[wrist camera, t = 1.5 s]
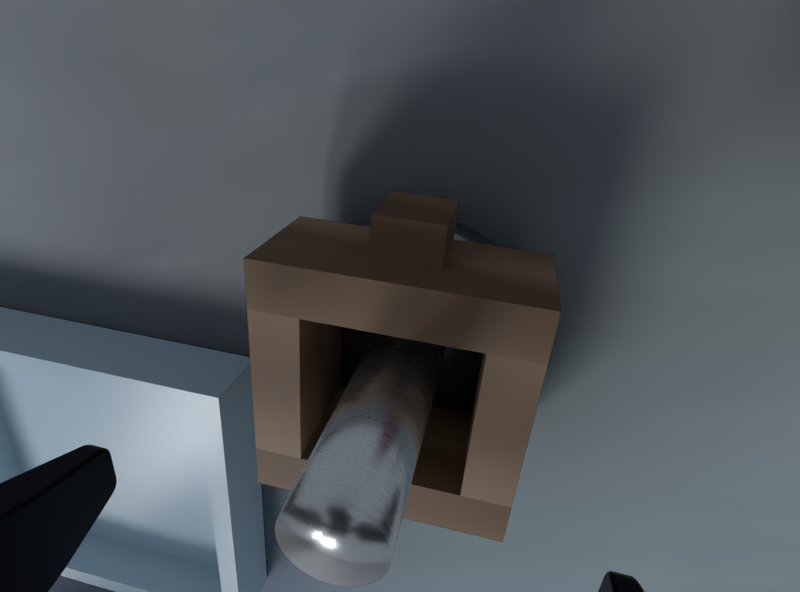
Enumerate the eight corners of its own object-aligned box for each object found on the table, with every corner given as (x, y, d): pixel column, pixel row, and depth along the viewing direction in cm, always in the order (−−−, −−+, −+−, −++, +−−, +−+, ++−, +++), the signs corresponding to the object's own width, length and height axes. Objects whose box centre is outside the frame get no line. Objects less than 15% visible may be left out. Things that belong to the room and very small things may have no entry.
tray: (266, 578, 22) (242, 628, 20) (39, 515, 24) (-3, 556, 22) (253, 357, 17) (218, 398, 15) (-35, 299, 19) (-100, 328, 17)
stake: (512, 438, 16) (503, 714, 9) (307, 395, 17) (170, 615, 10) (561, 234, 13) (599, 429, 6) (307, 197, 14) (112, 331, 7)
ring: (506, 455, 15) (502, 542, 12) (302, 411, 16) (258, 482, 13) (563, 214, 12) (574, 262, 9) (300, 177, 13) (240, 211, 10)
